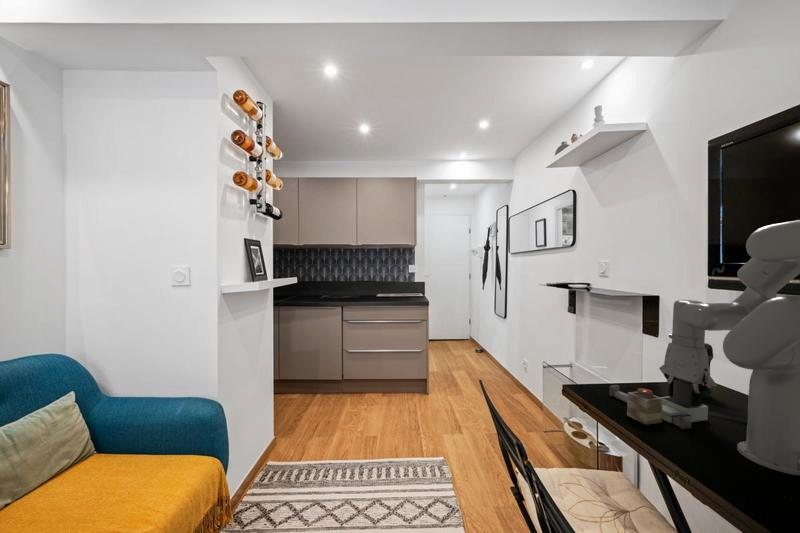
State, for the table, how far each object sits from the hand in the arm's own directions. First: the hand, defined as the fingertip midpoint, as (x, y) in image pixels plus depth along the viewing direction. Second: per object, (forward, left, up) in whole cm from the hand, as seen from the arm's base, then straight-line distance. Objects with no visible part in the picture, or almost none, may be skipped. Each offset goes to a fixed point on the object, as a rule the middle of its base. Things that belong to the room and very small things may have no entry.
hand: (685, 400), depth 104 cm
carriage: (+1, +2, -5) cm, 5 cm away
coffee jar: (+13, -23, -5) cm, 27 cm away
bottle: (0, 0, -5) cm, 5 cm away
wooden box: (+2, +14, -5) cm, 15 cm away
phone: (-3, -15, -6) cm, 16 cm away
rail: (+6, +7, -5) cm, 11 cm away
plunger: (+2, +13, -2) cm, 14 cm away
